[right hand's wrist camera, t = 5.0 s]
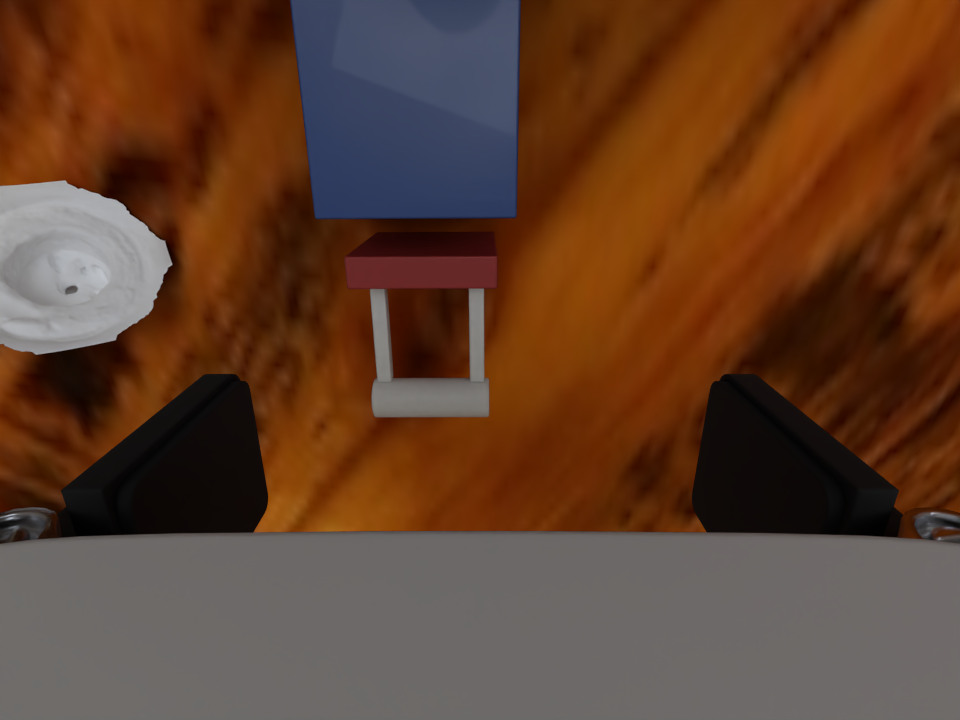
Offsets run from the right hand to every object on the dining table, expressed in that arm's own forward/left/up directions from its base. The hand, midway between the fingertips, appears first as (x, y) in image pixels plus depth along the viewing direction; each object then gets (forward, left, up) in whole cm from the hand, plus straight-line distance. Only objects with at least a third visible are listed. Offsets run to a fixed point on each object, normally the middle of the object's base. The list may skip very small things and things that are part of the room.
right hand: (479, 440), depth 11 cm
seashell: (0, +19, -17) cm, 25 cm away
